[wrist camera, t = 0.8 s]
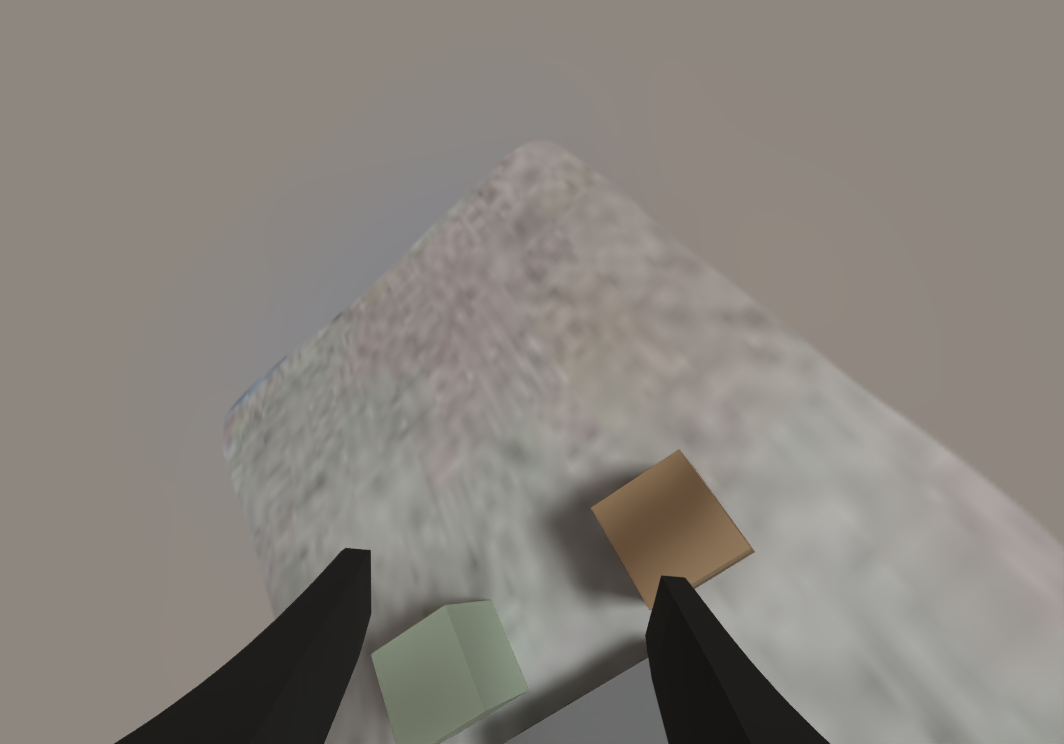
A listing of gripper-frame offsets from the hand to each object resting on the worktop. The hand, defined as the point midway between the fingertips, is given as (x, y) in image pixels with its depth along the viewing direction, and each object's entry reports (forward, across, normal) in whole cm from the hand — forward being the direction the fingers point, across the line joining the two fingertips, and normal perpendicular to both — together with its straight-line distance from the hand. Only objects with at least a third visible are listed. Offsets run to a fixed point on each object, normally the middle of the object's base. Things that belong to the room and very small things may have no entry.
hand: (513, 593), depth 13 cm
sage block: (+11, +1, +17) cm, 20 cm away
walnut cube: (+12, -9, +7) cm, 17 cm away
